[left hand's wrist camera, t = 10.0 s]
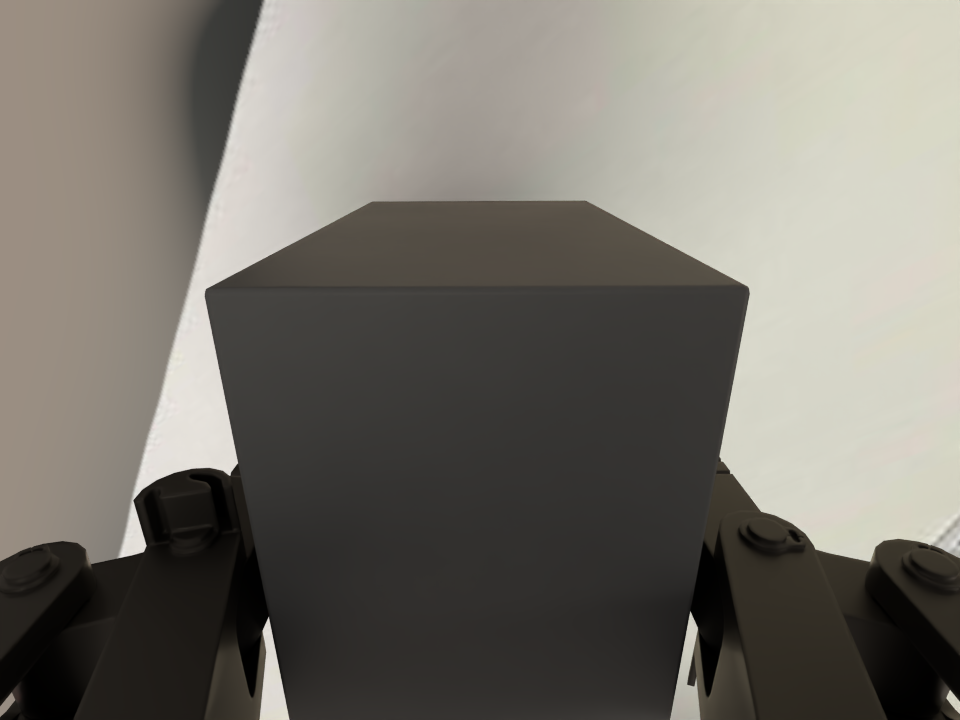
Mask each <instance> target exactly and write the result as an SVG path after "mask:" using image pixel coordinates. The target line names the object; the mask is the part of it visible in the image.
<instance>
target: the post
mask: <svg viewBox="0 0 960 720" xmlns="http://www.w3.org/2000/svg"><path fill="white" fill-rule="evenodd" d="M749 294H750V293H749V288H748V287H747V286H745V285H744V284H742V283H740V282H738V281H736V280H734V279H732V278H730V277H728V276H727V275H725V274H723V273H721V272H719V271H717V270H715V269H713V268H712V267H710V266H708V265H706V264H704V263H702V262H700V261H698V260H696V259H695V258H693V257H691V256H689V255H687V254H685V253H683V252H681V251H679V250H678V249H676V248H674V247H672V246H670V245H668V244H666V243H664V242H662V241H661V240H659V239H657V238H655V237H653V236H651V235H649V234H647V233H645V232H644V231H642V230H640V229H638V228H636V227H634V226H632V225H630V224H628V223H627V222H625V221H623V220H621V219H619V218H617V217H615V216H613V215H612V214H610V213H608V212H606V211H604V210H602V209H600V208H598V207H596V206H595V205H593V204H591V203H589V202H587V201H426V202H371V203H369V204H367V205H365V206H363V207H361V208H359V209H357V210H356V211H354V212H352V213H350V214H348V215H346V216H344V217H342V218H340V219H338V220H337V221H335V222H333V223H331V224H329V225H327V226H325V227H323V228H321V229H319V230H318V231H316V232H314V233H312V234H310V235H308V236H306V237H304V238H302V239H300V240H299V241H297V242H295V243H293V244H291V245H289V246H287V247H285V248H283V249H281V250H280V251H278V252H276V253H274V254H272V255H270V256H268V257H266V258H264V259H262V260H261V261H259V262H257V263H255V264H253V265H251V266H249V267H247V268H245V269H243V270H242V271H240V272H238V273H236V274H234V275H232V276H230V277H228V278H226V279H224V280H223V281H221V282H219V283H217V284H215V285H213V286H211V287H209V288H207V289H206V291H205V299H206V304H207V309H208V314H209V319H210V324H211V329H212V334H213V339H214V344H215V349H216V354H217V359H218V364H219V369H220V374H221V379H222V384H223V389H224V394H225V399H226V404H227V409H228V414H229V419H230V424H231V429H232V434H233V439H234V444H235V449H236V454H237V459H238V464H239V469H240V474H241V479H242V484H243V489H244V494H245V499H246V504H247V509H248V514H249V519H250V524H251V529H252V534H253V539H254V544H255V549H256V554H257V559H258V564H259V569H260V574H261V579H262V584H263V589H264V594H265V599H266V604H267V609H268V614H269V619H270V624H271V629H272V634H273V639H274V644H275V649H276V654H277V659H278V664H279V669H280V674H281V679H282V684H283V689H284V694H285V699H286V704H287V709H288V714H289V719H290V720H670V716H671V711H672V706H673V700H674V695H675V690H676V684H677V679H678V674H679V668H680V663H681V658H682V652H683V647H684V641H685V636H686V631H687V625H688V620H689V615H690V609H691V604H692V599H693V593H694V588H695V583H696V577H697V572H698V567H699V561H700V556H701V551H702V545H703V540H704V535H705V529H706V524H707V519H708V513H709V508H710V503H711V497H712V492H713V487H714V481H715V476H716V471H717V465H718V460H719V455H720V449H721V444H722V439H723V433H724V428H725V423H726V417H727V412H728V406H729V401H730V396H731V390H732V385H733V380H734V374H735V369H736V364H737V358H738V353H739V348H740V342H741V337H742V332H743V326H744V321H745V316H746V310H747V305H748V300H749Z"/></svg>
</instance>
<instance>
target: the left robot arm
mask: <svg viewBox="0 0 960 720" xmlns="http://www.w3.org/2000/svg"><path fill="white" fill-rule="evenodd" d="M133 501H134V504H135V508H136V511H137V514H138V518H139V521H140V525H141V528H142V532H143V535H144V538H145V542H146V545H147V546H146V549H145V551H144V552H143V553H139V554H136V555H132V556H127V557H123V558H118V559H114V560H108V561H104V562H99V563H94V564H91V563H90V560H89V558H88V555H87V552H86V549H85V548H83V547H82V546H81V545H79V544H78V543H73V542H65V541H61V542H53V543H46V544H41V545H38V546H34V547H32V548H28V549H25V550H22V551H20V552H18V553H16V554H14V555H12V556H10V557H9V558H6V559H4V560H2V561H0V706H1V705H2V703H3V702H4V701H5V700H6V698H7V697H8V696H9V695H10V694H11V692H12V693H13V696H14V698H15V701H14V703H13V704H12V705H11V706H10V708H9V709H8V710H7V711H6V712H5V713H4V714H3V715H2V716H1V717H0V720H259V719H260V709H261V699H262V689H263V679H264V669H265V659H266V648H265V642H264V637H263V632H262V630H263V628H264V626H265V624H266V622H267V619H268V617H269V614H268V609H267V604H266V599H265V594H264V589H263V584H262V579H261V574H260V569H259V564H258V559H257V554H256V549H255V544H254V539H253V534H252V529H251V524H250V519H249V514H248V509H247V504H246V499H245V494H244V489H243V484H242V479H241V474H240V469H239V464H237V465H236V467H235V468H234V469H233V471H232V472H231V476H229V475H228V474H226V473H225V472H224V471H221V470H217V469H212V468H198V469H190V470H185V471H181V472H176V473H173V474H171V475H168V476H166V477H163V478H161V479H159V480H156V481H155V482H153V483H152V484H150V485H149V486H147V487H146V488H144V489H143V490H142V491H141V492H140V493H139V494H138V496H137V497H136V498H135V499H134V500H133ZM690 611H691V613H692V616H693V618H694V620H695V622H696V625H697V627H698V632H697V637H696V641H695V646H694V651H693V656H692V661H691V666H690V671H689V676H688V682H687V685H691V686H694V685H695V681H696V677H697V687H698V697H699V707H700V717H701V720H960V714H959V713H958V712H957V711H956V710H955V709H954V708H953V706H952V705H951V704H950V703H949V701H948V700H947V699H946V697H947V695H948V693H949V691H950V690H951V691H952V693H953V694H954V695H955V696H956V697H957V699H958V700H959V701H960V558H958V557H956V556H954V555H952V554H950V553H948V552H946V551H944V550H942V549H940V548H938V547H935V546H932V545H931V546H930V545H928V544H925V543H921V542H917V541H910V540H903V539H895V540H887V541H883V542H882V543H880V544H879V545H878V546H876V548H875V550H874V553H873V556H872V559H871V562H867V561H863V560H858V559H853V558H849V557H844V556H839V555H834V554H830V553H826V552H822V551H819V550H815V548H814V545H813V544H812V543H811V541H810V540H809V538H808V537H807V536H806V534H805V533H804V532H802V531H801V530H800V529H798V528H797V527H796V526H794V525H793V524H792V523H790V522H788V521H785V520H783V519H781V518H779V517H777V516H775V515H771V514H767V513H763V512H761V511H760V510H759V509H758V507H757V506H756V505H755V503H754V502H753V501H752V499H751V498H750V497H749V495H748V494H747V493H746V491H745V490H744V489H743V487H742V486H741V485H740V484H739V482H738V481H737V480H736V478H735V477H734V476H733V474H730V470H729V469H728V468H727V466H726V465H725V464H724V462H721V459H720V457H719V460H718V465H717V471H716V476H715V481H714V487H713V492H712V497H711V503H710V508H709V513H708V519H707V524H706V529H705V535H704V540H703V545H702V551H701V556H700V561H699V567H698V572H697V577H696V583H695V588H694V593H693V599H692V604H691V609H690Z"/></svg>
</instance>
